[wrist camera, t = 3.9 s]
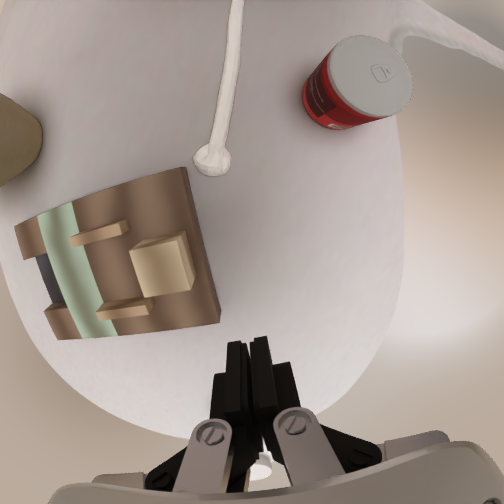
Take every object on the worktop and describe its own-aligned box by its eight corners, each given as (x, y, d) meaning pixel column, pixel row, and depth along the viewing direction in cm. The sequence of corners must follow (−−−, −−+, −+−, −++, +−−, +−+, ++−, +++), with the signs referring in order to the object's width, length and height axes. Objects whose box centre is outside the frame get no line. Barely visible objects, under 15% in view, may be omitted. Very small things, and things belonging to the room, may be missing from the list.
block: (184, 230, 28) (176, 240, 25) (196, 274, 30) (190, 289, 26) (142, 240, 28) (128, 251, 25) (155, 281, 30) (144, 297, 26)
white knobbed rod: (219, -20, 22) (218, -31, 19) (250, -19, 22) (251, -30, 19) (194, 175, 30) (189, 176, 27) (230, 177, 30) (229, 178, 28)
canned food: (375, 107, 28) (427, 89, 17) (331, 144, 29) (374, 135, 19) (334, 59, 26) (371, 21, 15) (286, 94, 27) (309, 60, 17)
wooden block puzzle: (185, 166, 29) (174, 167, 24) (221, 310, 35) (218, 334, 29) (26, 221, 30) (2, 230, 25) (66, 330, 35) (50, 348, 30)
